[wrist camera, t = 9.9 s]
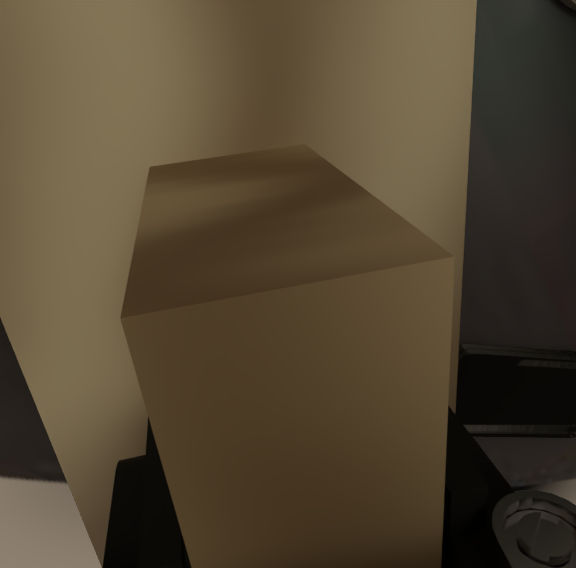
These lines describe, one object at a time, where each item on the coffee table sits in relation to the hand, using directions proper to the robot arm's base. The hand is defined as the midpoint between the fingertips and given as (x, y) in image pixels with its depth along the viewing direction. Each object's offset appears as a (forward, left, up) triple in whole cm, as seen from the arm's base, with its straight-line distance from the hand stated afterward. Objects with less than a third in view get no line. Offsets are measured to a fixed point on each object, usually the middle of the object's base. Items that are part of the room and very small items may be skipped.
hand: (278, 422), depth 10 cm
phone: (-21, +21, -21) cm, 36 cm away
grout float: (0, 0, -3) cm, 3 cm away
